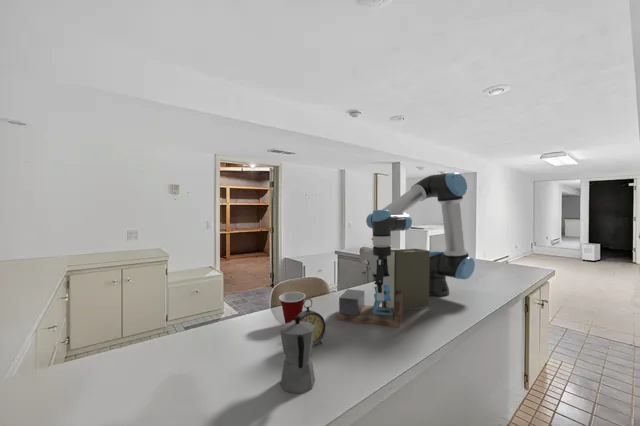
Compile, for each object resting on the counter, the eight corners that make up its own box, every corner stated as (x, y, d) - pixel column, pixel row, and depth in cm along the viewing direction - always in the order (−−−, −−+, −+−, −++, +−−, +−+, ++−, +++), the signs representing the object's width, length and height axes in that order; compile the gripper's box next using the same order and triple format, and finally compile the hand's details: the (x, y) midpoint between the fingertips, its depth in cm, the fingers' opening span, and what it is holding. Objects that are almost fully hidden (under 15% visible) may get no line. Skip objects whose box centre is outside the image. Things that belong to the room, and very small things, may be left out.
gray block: (364, 306, 136) (364, 290, 136) (357, 316, 123) (357, 299, 123) (347, 304, 139) (347, 289, 139) (339, 314, 126) (339, 297, 126)
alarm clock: (296, 353, 96) (296, 303, 96) (290, 346, 101) (290, 298, 101) (326, 345, 101) (326, 298, 101) (319, 339, 106) (318, 294, 106)
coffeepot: (279, 372, 85) (278, 309, 85) (311, 368, 87) (311, 307, 86) (282, 407, 70) (281, 330, 70) (321, 402, 71) (320, 327, 71)
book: (415, 302, 150) (415, 247, 150) (430, 308, 142) (430, 249, 142) (381, 308, 140) (382, 249, 140) (395, 314, 132) (396, 251, 132)
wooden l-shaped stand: (403, 313, 132) (402, 291, 131) (400, 327, 116) (399, 301, 116) (346, 307, 140) (345, 286, 140) (336, 319, 125) (336, 295, 125)
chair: (371, 309, 131) (371, 282, 131) (390, 310, 130) (390, 283, 130) (373, 316, 123) (372, 287, 123) (393, 316, 122) (393, 287, 122)
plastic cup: (273, 328, 116) (273, 297, 116) (287, 318, 126) (286, 290, 126) (298, 332, 112) (298, 300, 112) (310, 322, 122) (310, 293, 122)
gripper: (377, 242, 139) (378, 287, 140) (367, 249, 116) (368, 303, 116) (393, 242, 137) (394, 288, 137) (387, 250, 113) (388, 305, 114)
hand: (382, 295), depth 127 cm, fingers open, 13 cm apart
